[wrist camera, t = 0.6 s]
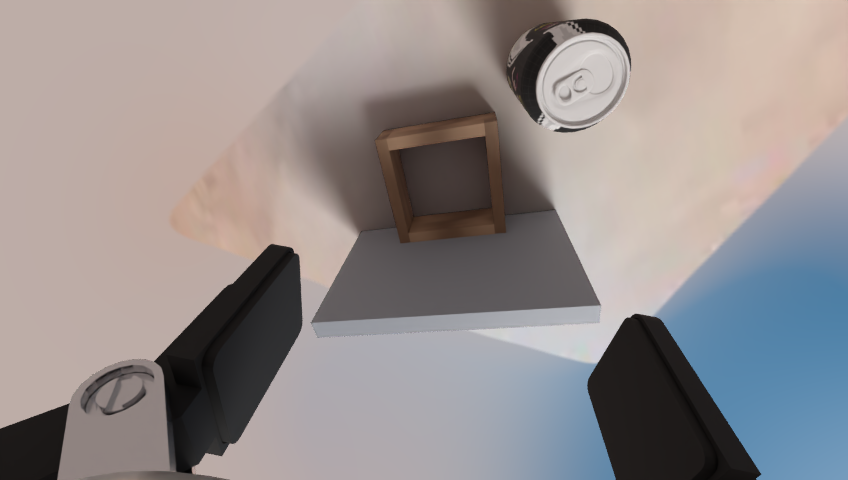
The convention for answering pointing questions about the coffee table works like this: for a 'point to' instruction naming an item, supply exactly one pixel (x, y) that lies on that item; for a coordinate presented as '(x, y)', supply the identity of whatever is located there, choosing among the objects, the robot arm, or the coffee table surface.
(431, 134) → the brown wooden open box
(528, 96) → the beverage can
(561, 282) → the wall board
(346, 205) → the coffee table surface
